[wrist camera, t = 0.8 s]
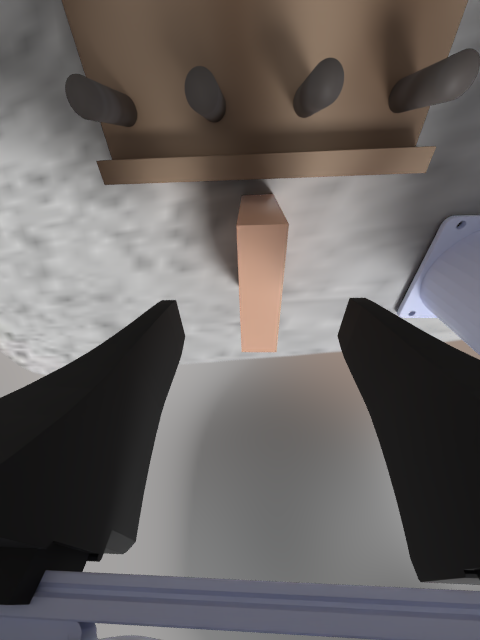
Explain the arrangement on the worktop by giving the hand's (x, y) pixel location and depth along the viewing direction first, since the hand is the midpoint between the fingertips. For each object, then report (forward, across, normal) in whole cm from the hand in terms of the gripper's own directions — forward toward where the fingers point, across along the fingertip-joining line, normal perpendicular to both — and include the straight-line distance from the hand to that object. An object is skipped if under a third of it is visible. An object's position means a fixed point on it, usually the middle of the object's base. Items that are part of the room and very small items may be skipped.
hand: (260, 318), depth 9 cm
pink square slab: (+8, 0, 0) cm, 8 cm away
